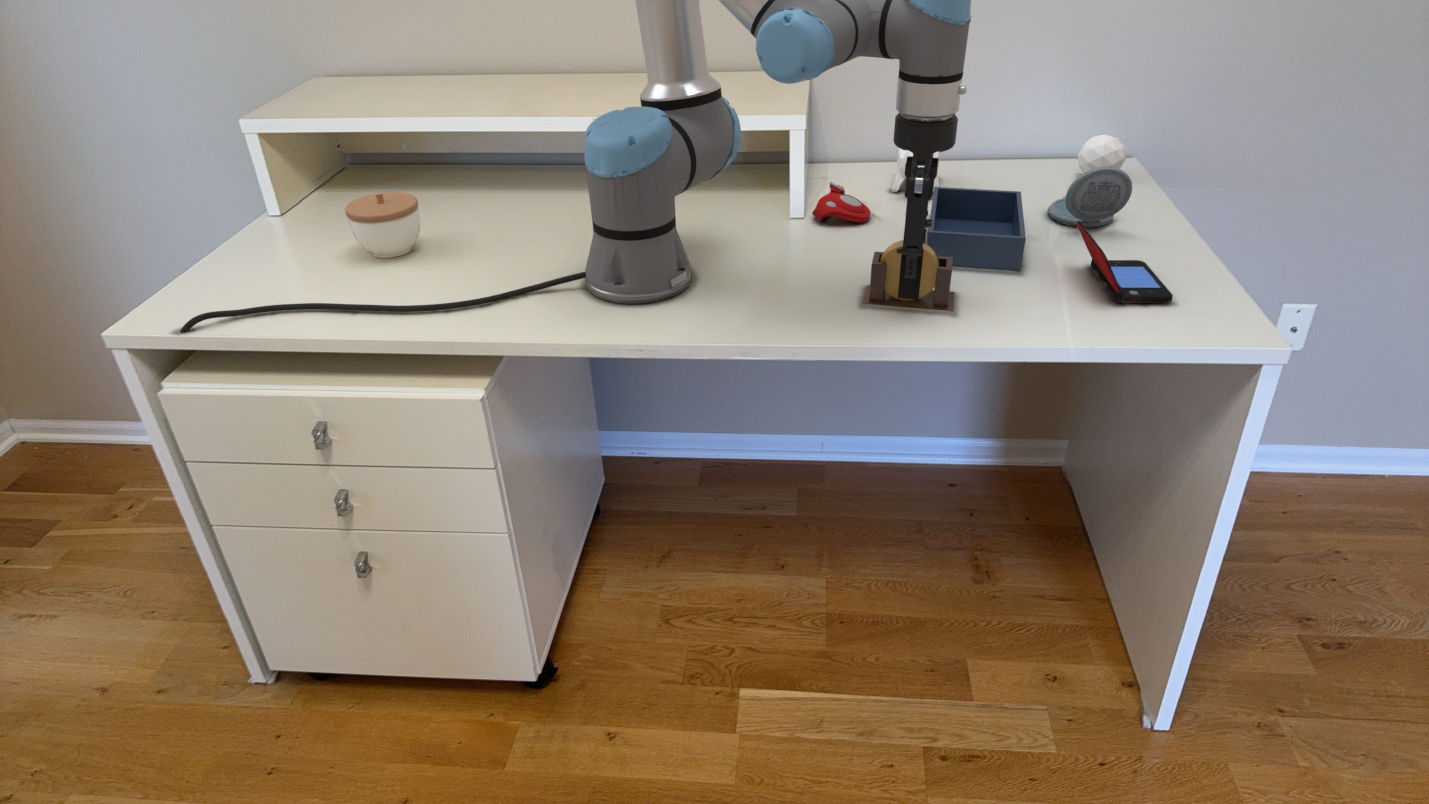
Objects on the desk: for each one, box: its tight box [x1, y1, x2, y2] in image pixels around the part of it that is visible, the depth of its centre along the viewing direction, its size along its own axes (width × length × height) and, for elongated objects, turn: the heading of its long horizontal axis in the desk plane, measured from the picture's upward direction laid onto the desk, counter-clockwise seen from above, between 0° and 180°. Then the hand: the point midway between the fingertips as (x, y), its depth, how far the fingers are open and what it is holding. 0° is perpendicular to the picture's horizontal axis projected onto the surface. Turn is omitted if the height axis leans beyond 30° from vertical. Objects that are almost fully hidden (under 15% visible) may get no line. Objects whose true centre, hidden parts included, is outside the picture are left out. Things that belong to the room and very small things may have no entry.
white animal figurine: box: [890, 147, 941, 193], centre depth 159 cm, size 8×8×15 cm
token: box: [880, 239, 939, 301], centre depth 122 cm, size 2×8×8 cm, turn 76°
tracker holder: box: [811, 181, 872, 223], centre depth 151 cm, size 12×4×10 cm
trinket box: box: [344, 191, 421, 259], centre depth 141 cm, size 11×11×9 cm
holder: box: [861, 251, 955, 312], centre depth 122 cm, size 12×6×6 cm, turn 76°
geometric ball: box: [1077, 133, 1126, 174], centre depth 161 cm, size 8×8×8 cm
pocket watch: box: [1047, 167, 1133, 228], centre depth 144 cm, size 10×11×15 cm
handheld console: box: [1077, 221, 1174, 304], centre depth 124 cm, size 12×11×7 cm
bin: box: [926, 186, 1026, 272], centre depth 138 cm, size 19×13×6 cm
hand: (910, 284), depth 123 cm, fingers open, 7 cm apart
